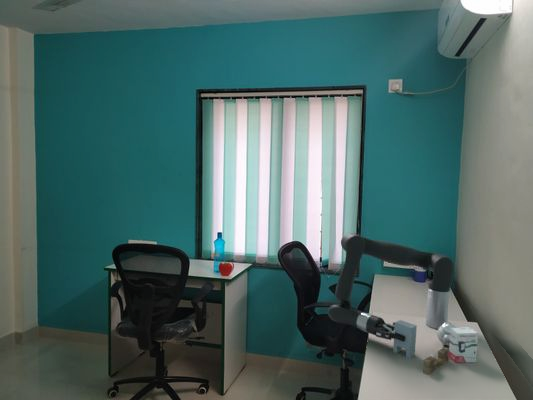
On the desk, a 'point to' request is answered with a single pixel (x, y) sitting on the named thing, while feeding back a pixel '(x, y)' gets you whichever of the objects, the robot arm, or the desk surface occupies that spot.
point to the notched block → (410, 338)
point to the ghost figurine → (445, 333)
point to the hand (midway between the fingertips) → (407, 337)
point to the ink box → (463, 345)
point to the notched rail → (435, 361)
